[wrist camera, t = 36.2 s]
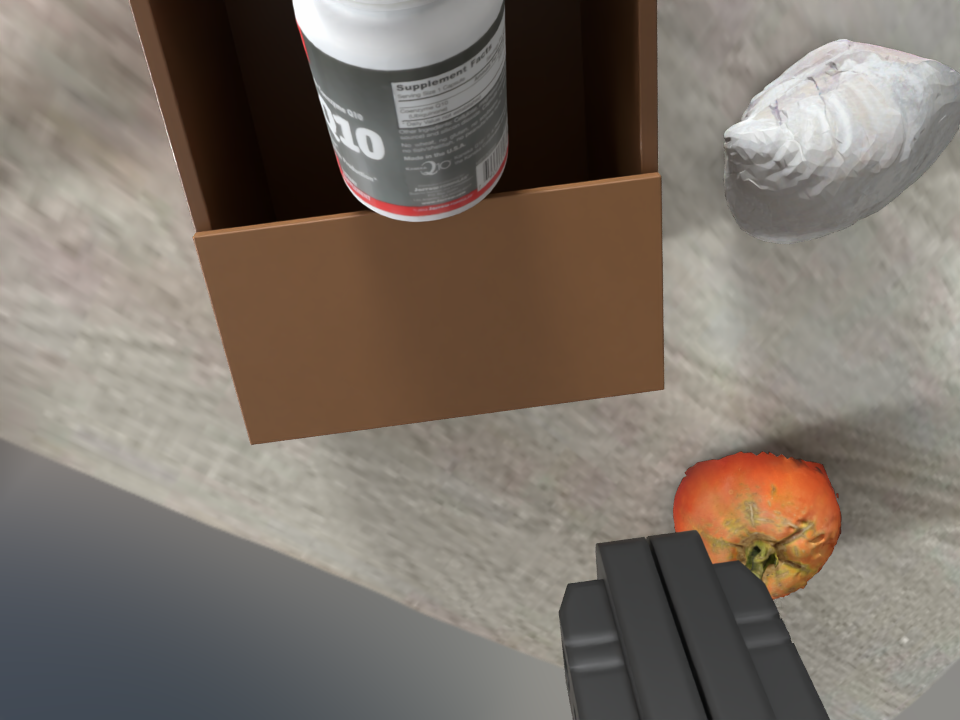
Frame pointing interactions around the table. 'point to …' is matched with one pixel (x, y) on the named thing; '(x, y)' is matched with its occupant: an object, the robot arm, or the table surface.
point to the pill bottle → (412, 99)
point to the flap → (441, 309)
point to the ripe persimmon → (762, 515)
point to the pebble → (837, 139)
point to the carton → (303, 129)
